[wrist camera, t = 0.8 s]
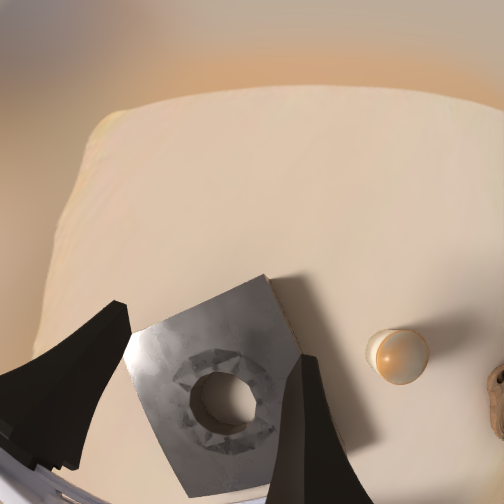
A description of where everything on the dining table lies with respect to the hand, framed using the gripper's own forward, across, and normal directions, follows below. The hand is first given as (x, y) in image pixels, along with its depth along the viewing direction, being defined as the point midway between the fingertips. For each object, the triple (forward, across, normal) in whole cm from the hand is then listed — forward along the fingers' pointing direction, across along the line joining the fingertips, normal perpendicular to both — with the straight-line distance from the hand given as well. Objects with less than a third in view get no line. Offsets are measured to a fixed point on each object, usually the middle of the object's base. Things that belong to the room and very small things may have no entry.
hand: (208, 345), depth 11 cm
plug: (+10, -14, +9) cm, 20 cm away
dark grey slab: (+6, -2, +17) cm, 18 cm away
